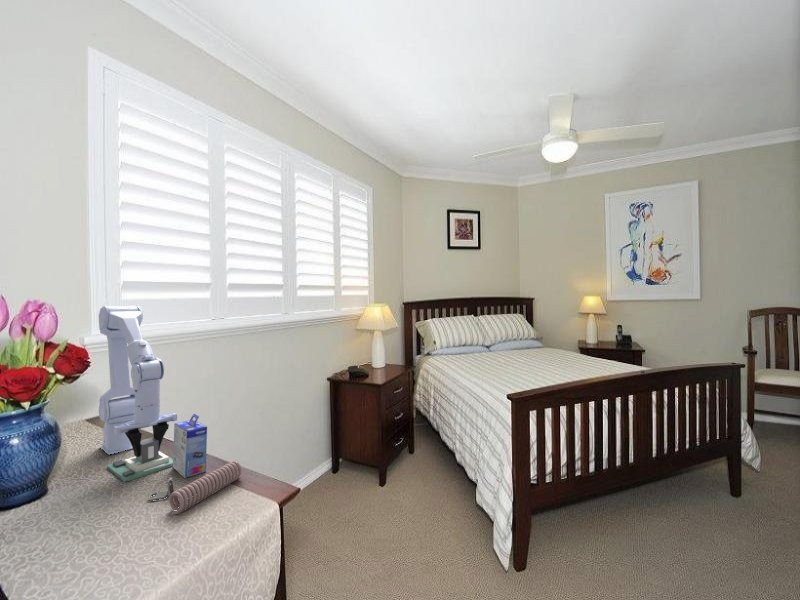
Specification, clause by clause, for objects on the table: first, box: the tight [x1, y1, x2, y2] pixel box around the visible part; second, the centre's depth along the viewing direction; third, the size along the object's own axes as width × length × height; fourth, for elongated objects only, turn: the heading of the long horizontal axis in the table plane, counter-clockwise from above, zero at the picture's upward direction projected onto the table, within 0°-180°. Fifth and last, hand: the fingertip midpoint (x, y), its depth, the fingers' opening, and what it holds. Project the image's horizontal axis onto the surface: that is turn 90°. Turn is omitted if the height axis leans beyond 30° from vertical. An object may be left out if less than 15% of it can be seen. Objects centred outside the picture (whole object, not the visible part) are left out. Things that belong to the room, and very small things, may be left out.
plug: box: [136, 436, 160, 464], centre depth 99 cm, size 5×4×5 cm
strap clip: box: [147, 476, 175, 502], centre depth 84 cm, size 8×3×4 cm, turn 111°
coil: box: [168, 460, 243, 515], centre depth 85 cm, size 5×5×18 cm
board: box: [106, 450, 173, 483], centre depth 99 cm, size 13×12×2 cm
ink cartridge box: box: [172, 413, 208, 478], centre depth 98 cm, size 10×6×14 cm, turn 49°
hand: (147, 453), depth 100 cm, fingers closed on plug, 4 cm apart
